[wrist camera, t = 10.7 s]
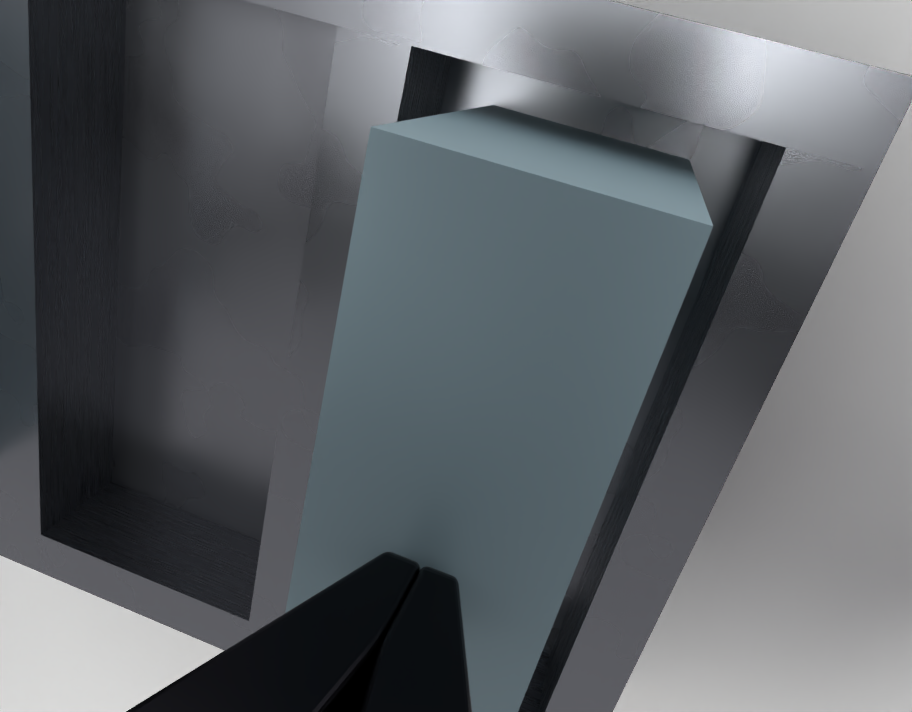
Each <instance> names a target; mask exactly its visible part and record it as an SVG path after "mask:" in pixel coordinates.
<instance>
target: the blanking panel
mask: <svg viewBox="0 0 912 712" xmlns="http://www.w3.org/2000/svg"><path fill="white" fill-rule="evenodd" d="M712 228H713V224H712V221H711V218H710V216H709V213H708V210H707V207H706V205H705V202H704V199H703V196H702V193H701V191H700V188H699V185H698V182H697V180H696V177H695V174H694V171H693V169H692V166H691V163H690V160H689V159H686V158H683V157H679V156H675V155H672V154H668V153H665V152H661V151H657V150H654V149H650V148H647V147H643V146H640V145H636V144H632V143H629V142H625V141H622V140H618V139H614V138H611V137H607V136H604V135H600V134H596V133H593V132H589V131H586V130H582V129H578V128H575V127H571V126H568V125H564V124H560V123H557V122H553V121H550V120H546V119H542V118H539V117H535V116H532V115H528V114H524V113H521V112H517V111H514V110H510V109H506V108H503V107H499V106H496V105H489V106H484V107H478V108H472V109H467V110H461V111H456V112H450V113H444V114H439V115H433V116H428V117H422V118H416V119H411V120H405V121H400V122H394V123H388V124H383V125H377V126H372V127H371V128H370V133H369V139H368V145H367V150H366V156H365V162H364V167H363V173H362V179H361V185H360V190H359V196H358V202H357V207H356V213H355V219H354V224H353V230H352V236H351V241H350V247H349V253H348V258H347V264H346V270H345V275H344V281H343V287H342V293H341V298H340V304H339V310H338V315H337V321H336V327H335V332H334V338H333V344H332V349H331V355H330V361H329V366H328V372H327V378H326V383H325V389H324V395H323V401H322V406H321V412H320V418H319V423H318V429H317V435H316V440H315V446H314V452H313V457H312V463H311V469H310V474H309V480H308V486H307V491H306V497H305V503H304V509H303V514H302V520H301V526H300V531H299V537H298V543H297V548H296V554H295V560H294V565H293V571H292V577H291V582H290V588H289V594H288V600H287V605H286V611H285V613H286V612H288V611H290V610H291V609H293V608H295V607H296V606H298V605H299V604H301V603H303V602H304V601H306V600H308V599H309V598H311V597H312V596H314V595H316V594H317V593H319V592H320V591H322V590H324V589H325V588H327V587H329V586H330V585H332V584H333V583H335V582H337V581H338V580H340V579H341V578H343V577H345V576H346V575H348V574H350V573H351V572H353V571H354V570H356V569H358V568H359V567H361V566H362V565H364V564H366V563H367V562H369V561H371V560H372V559H374V558H375V557H377V556H379V555H380V554H382V553H384V552H393V553H395V554H398V555H400V556H403V557H406V558H408V559H411V560H413V561H416V562H417V563H418V564H419V566H420V569H422V568H423V567H425V566H429V567H432V568H434V569H437V570H439V571H442V572H445V573H447V574H450V575H452V576H454V577H455V578H456V579H457V580H458V583H459V591H460V600H461V610H462V620H463V629H464V639H465V648H466V658H467V667H468V677H469V686H470V696H471V706H472V712H518V711H519V708H520V706H521V703H522V701H523V698H524V696H525V693H526V691H527V688H528V686H529V683H530V681H531V678H532V676H533V673H534V671H535V668H536V666H537V663H538V661H539V658H540V656H541V653H542V651H543V648H544V646H545V643H546V641H547V639H548V636H549V634H550V631H551V629H552V626H553V624H554V621H555V619H556V616H557V614H558V611H559V609H560V606H561V604H562V601H563V599H564V596H565V594H566V591H567V589H568V586H569V584H570V581H571V579H572V576H573V574H574V571H575V569H576V566H577V564H578V561H579V559H580V556H581V554H582V551H583V549H584V547H585V544H586V542H587V539H588V537H589V534H590V532H591V529H592V527H593V524H594V522H595V519H596V517H597V514H598V512H599V509H600V507H601V504H602V502H603V499H604V497H605V494H606V492H607V489H608V487H609V484H610V482H611V479H612V477H613V474H614V472H615V469H616V467H617V464H618V462H619V459H620V457H621V455H622V452H623V450H624V447H625V445H626V442H627V440H628V437H629V435H630V432H631V430H632V427H633V425H634V422H635V420H636V417H637V415H638V412H639V410H640V407H641V405H642V402H643V400H644V397H645V395H646V392H647V390H648V387H649V385H650V382H651V380H652V377H653V375H654V372H655V370H656V367H657V365H658V362H659V360H660V358H661V355H662V353H663V350H664V348H665V345H666V343H667V340H668V338H669V335H670V333H671V330H672V328H673V325H674V323H675V320H676V318H677V315H678V313H679V310H680V308H681V305H682V303H683V300H684V298H685V295H686V293H687V290H688V288H689V285H690V283H691V280H692V278H693V275H694V273H695V270H696V268H697V266H698V263H699V261H700V258H701V256H702V253H703V251H704V248H705V246H706V243H707V241H708V238H709V236H710V233H711V231H712Z"/></svg>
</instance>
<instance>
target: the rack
mask: <svg viewBox="0 0 912 712" xmlns="http://www.w3.org/2000/svg"><path fill="white" fill-rule="evenodd" d="M911 101H912V76H910V75H906V74H902V73H898V72H894V71H890V70H886V69H882V68H878V67H874V66H870V65H866V64H862V63H858V62H854V61H850V60H846V59H842V58H838V57H834V56H830V55H826V54H822V53H818V52H814V51H810V50H806V49H802V48H798V47H794V46H790V45H786V44H782V43H778V42H774V41H770V40H766V39H762V38H758V37H754V36H750V35H746V34H742V33H738V32H734V31H730V30H726V29H722V28H718V27H714V26H710V25H706V24H702V23H698V22H694V21H690V20H686V19H682V18H678V17H674V16H670V15H666V14H662V13H658V12H654V11H650V10H646V9H642V8H638V7H634V6H630V5H626V4H622V3H618V2H614V1H610V0H0V555H1V556H4V557H6V558H8V559H11V560H13V561H15V562H18V563H20V564H22V565H25V566H27V567H30V568H32V569H34V570H37V571H39V572H41V573H44V574H46V575H48V576H51V577H53V578H55V579H58V580H60V581H63V582H65V583H67V584H70V585H72V586H74V587H77V588H79V589H81V590H84V591H86V592H88V593H91V594H93V595H96V596H98V597H100V598H103V599H105V600H107V601H110V602H112V603H114V604H117V605H119V606H121V607H124V608H126V609H129V610H131V611H133V612H136V613H138V614H140V615H143V616H145V617H147V618H150V619H152V620H154V621H157V622H159V623H162V624H164V625H166V626H169V627H171V628H173V629H176V630H178V631H180V632H183V633H185V634H187V635H190V636H192V637H195V638H197V639H199V640H202V641H204V642H206V643H209V644H211V645H213V646H216V647H218V648H220V649H223V650H227V649H228V648H230V647H232V646H233V645H235V644H236V643H238V642H240V641H241V640H243V639H244V638H246V637H248V636H249V635H251V634H253V633H254V632H256V631H257V630H259V629H261V628H262V627H264V626H265V625H267V624H269V623H270V622H272V621H274V620H275V619H277V618H278V617H280V616H282V615H283V614H285V611H286V605H287V600H288V594H289V588H290V582H291V577H292V571H293V565H294V560H295V554H296V548H297V543H298V537H299V531H300V526H301V520H302V514H303V509H304V503H305V497H306V491H307V486H308V480H309V474H310V469H311V463H312V457H313V452H314V446H315V440H316V435H317V429H318V423H319V418H320V412H321V406H322V401H323V395H324V389H325V383H326V378H327V372H328V366H329V361H330V355H331V349H332V344H333V338H334V332H335V327H336V321H337V315H338V310H339V304H340V298H341V293H342V287H343V281H344V275H345V270H346V264H347V258H348V253H349V247H350V241H351V236H352V230H353V224H354V219H355V213H356V207H357V202H358V196H359V190H360V185H361V179H362V173H363V167H364V162H365V156H366V150H367V145H368V139H369V133H370V128H371V127H372V126H377V125H383V124H388V123H394V122H400V121H405V120H411V119H416V118H422V117H428V116H433V115H439V114H444V113H450V112H456V111H461V110H467V109H472V108H478V107H484V106H489V105H496V106H499V107H503V108H506V109H510V110H514V111H517V112H521V113H524V114H528V115H532V116H535V117H539V118H542V119H546V120H550V121H553V122H557V123H560V124H564V125H568V126H571V127H575V128H578V129H582V130H586V131H589V132H593V133H596V134H600V135H604V136H607V137H611V138H614V139H618V140H622V141H625V142H629V143H632V144H636V145H640V146H643V147H647V148H650V149H654V150H657V151H661V152H665V153H668V154H672V155H675V156H679V157H683V158H686V159H689V160H690V163H691V166H692V169H693V171H694V174H695V177H696V180H697V182H698V185H699V188H700V191H701V193H702V196H703V199H704V202H705V205H706V207H707V210H708V213H709V216H710V218H711V221H712V224H713V228H712V231H711V233H710V236H709V238H708V241H707V243H706V246H705V248H704V251H703V253H702V256H701V258H700V261H699V263H698V266H697V268H696V270H695V273H694V275H693V278H692V280H691V283H690V285H689V288H688V290H687V293H686V295H685V298H684V300H683V303H682V305H681V308H680V310H679V313H678V315H677V318H676V320H675V323H674V325H673V328H672V330H671V333H670V335H669V338H668V340H667V343H666V345H665V348H664V350H663V353H662V355H661V358H660V360H659V362H658V365H657V367H656V370H655V372H654V375H653V377H652V380H651V382H650V385H649V387H648V390H647V392H646V395H645V397H644V400H643V402H642V405H641V407H640V410H639V412H638V415H637V417H636V420H635V422H634V425H633V427H632V430H631V432H630V435H629V437H628V440H627V442H626V445H625V447H624V450H623V452H622V455H621V457H620V459H619V462H618V464H617V467H616V469H615V472H614V474H613V477H612V479H611V482H610V484H609V487H608V489H607V492H606V494H605V497H604V499H603V502H602V504H601V507H600V509H599V512H598V514H597V517H596V519H595V522H594V524H593V527H592V529H591V532H590V534H589V537H588V539H587V542H586V544H585V547H584V549H583V551H582V554H581V556H580V559H579V561H578V564H577V566H576V569H575V571H574V574H573V576H572V579H571V581H570V584H569V586H568V589H567V591H566V594H565V596H564V599H563V601H562V604H561V606H560V609H559V611H558V614H557V616H556V619H555V621H554V624H553V626H552V629H551V631H550V634H549V636H548V639H547V641H546V643H545V646H544V648H543V651H542V653H541V656H540V658H539V661H538V663H537V666H536V668H535V671H534V673H533V676H532V678H531V681H530V683H529V686H528V688H527V691H526V693H525V696H524V698H523V701H522V703H521V706H520V708H519V711H518V712H613V710H614V708H615V706H616V704H617V702H618V700H619V698H620V695H621V693H622V691H623V689H624V687H625V685H626V683H627V681H628V679H629V677H630V675H631V673H632V671H633V669H634V667H635V665H636V663H637V661H638V659H639V657H640V655H641V653H642V651H643V649H644V646H645V644H646V642H647V640H648V638H649V636H650V634H651V632H652V630H653V628H654V626H655V624H656V622H657V620H658V618H659V616H660V614H661V612H662V610H663V608H664V606H665V604H666V602H667V599H668V597H669V595H670V593H671V591H672V589H673V587H674V585H675V583H676V581H677V579H678V577H679V575H680V573H681V571H682V569H683V567H684V565H685V563H686V561H687V559H688V557H689V555H690V553H691V550H692V548H693V546H694V544H695V542H696V540H697V538H698V536H699V534H700V532H701V530H702V528H703V526H704V524H705V522H706V520H707V518H708V516H709V514H710V512H711V510H712V508H713V506H714V503H715V501H716V499H717V497H718V495H719V493H720V491H721V489H722V487H723V485H724V483H725V481H726V479H727V477H728V475H729V473H730V471H731V469H732V467H733V465H734V463H735V461H736V459H737V457H738V454H739V452H740V450H741V448H742V446H743V444H744V442H745V440H746V438H747V436H748V434H749V432H750V430H751V428H752V426H753V424H754V422H755V420H756V418H757V416H758V414H759V412H760V410H761V407H762V405H763V403H764V401H765V399H766V397H767V395H768V393H769V391H770V389H771V387H772V385H773V383H774V381H775V379H776V377H777V375H778V373H779V371H780V369H781V367H782V365H783V363H784V361H785V358H786V356H787V354H788V352H789V350H790V348H791V346H792V344H793V342H794V340H795V338H796V336H797V334H798V332H799V330H800V328H801V326H802V324H803V322H804V320H805V318H806V316H807V314H808V311H809V309H810V307H811V305H812V303H813V301H814V299H815V297H816V295H817V293H818V291H819V289H820V287H821V285H822V283H823V281H824V279H825V277H826V275H827V273H828V271H829V269H830V267H831V265H832V262H833V260H834V258H835V256H836V254H837V252H838V250H839V248H840V246H841V244H842V242H843V240H844V238H845V236H846V234H847V232H848V230H849V228H850V226H851V224H852V222H853V220H854V218H855V215H856V213H857V211H858V209H859V207H860V205H861V203H862V201H863V199H864V197H865V195H866V193H867V191H868V189H869V187H870V185H871V183H872V181H873V179H874V177H875V175H876V173H877V171H878V169H879V166H880V164H881V162H882V160H883V158H884V156H885V154H886V152H887V150H888V148H889V146H890V144H891V142H892V140H893V138H894V136H895V134H896V132H897V130H898V128H899V126H900V124H901V122H902V119H903V117H904V115H905V113H906V111H907V109H908V107H909V105H910V103H911Z"/></svg>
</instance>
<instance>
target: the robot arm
mask: <svg viewBox="0 0 912 712" xmlns="http://www.w3.org/2000/svg"><path fill="white" fill-rule="evenodd" d="M127 712H472V706H471V696H470V686H469V677H468V667H467V658H466V648H465V639H464V629H463V620H462V610H461V600H460V591H459V583H458V580H457V579H456V578H455V577H454V576H452V575H450V574H447V573H445V572H442V571H439V570H437V569H434V568H432V567H429V566H425V567H423V568H422V569H420V566H419V564H418V563H417V562H416V561H413V560H411V559H408V558H406V557H403V556H400V555H398V554H395V553H393V552H384V553H382V554H380V555H379V556H377V557H375V558H374V559H372V560H371V561H369V562H367V563H366V564H364V565H362V566H361V567H359V568H358V569H356V570H354V571H353V572H351V573H350V574H348V575H346V576H345V577H343V578H341V579H340V580H338V581H337V582H335V583H333V584H332V585H330V586H329V587H327V588H325V589H324V590H322V591H320V592H319V593H317V594H316V595H314V596H312V597H311V598H309V599H308V600H306V601H304V602H303V603H301V604H299V605H298V606H296V607H295V608H293V609H291V610H290V611H288V612H286V613H285V614H283V615H282V616H280V617H278V618H277V619H275V620H274V621H272V622H270V623H269V624H267V625H265V626H264V627H262V628H261V629H259V630H257V631H256V632H254V633H253V634H251V635H249V636H248V637H246V638H244V639H243V640H241V641H240V642H238V643H236V644H235V645H233V646H232V647H230V648H228V649H227V650H225V651H223V652H222V653H220V654H219V655H217V656H215V657H214V658H212V659H211V660H209V661H207V662H206V663H204V664H202V665H201V666H199V667H198V668H196V669H194V670H193V671H191V672H190V673H188V674H186V675H185V676H183V677H181V678H180V679H178V680H177V681H175V682H173V683H172V684H170V685H169V686H167V687H165V688H164V689H162V690H160V691H159V692H157V693H156V694H154V695H152V696H151V697H149V698H148V699H146V700H144V701H143V702H141V703H139V704H138V705H136V706H135V707H133V708H131V709H130V710H128V711H127Z"/></svg>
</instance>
